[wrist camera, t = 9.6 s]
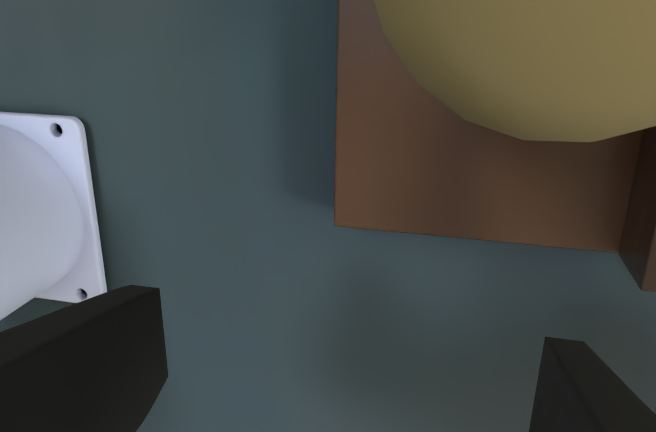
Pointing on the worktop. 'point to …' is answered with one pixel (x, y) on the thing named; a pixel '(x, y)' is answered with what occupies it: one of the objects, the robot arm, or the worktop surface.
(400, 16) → the olive door knob
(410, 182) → the shelf
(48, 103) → the worktop surface
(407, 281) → the worktop surface
